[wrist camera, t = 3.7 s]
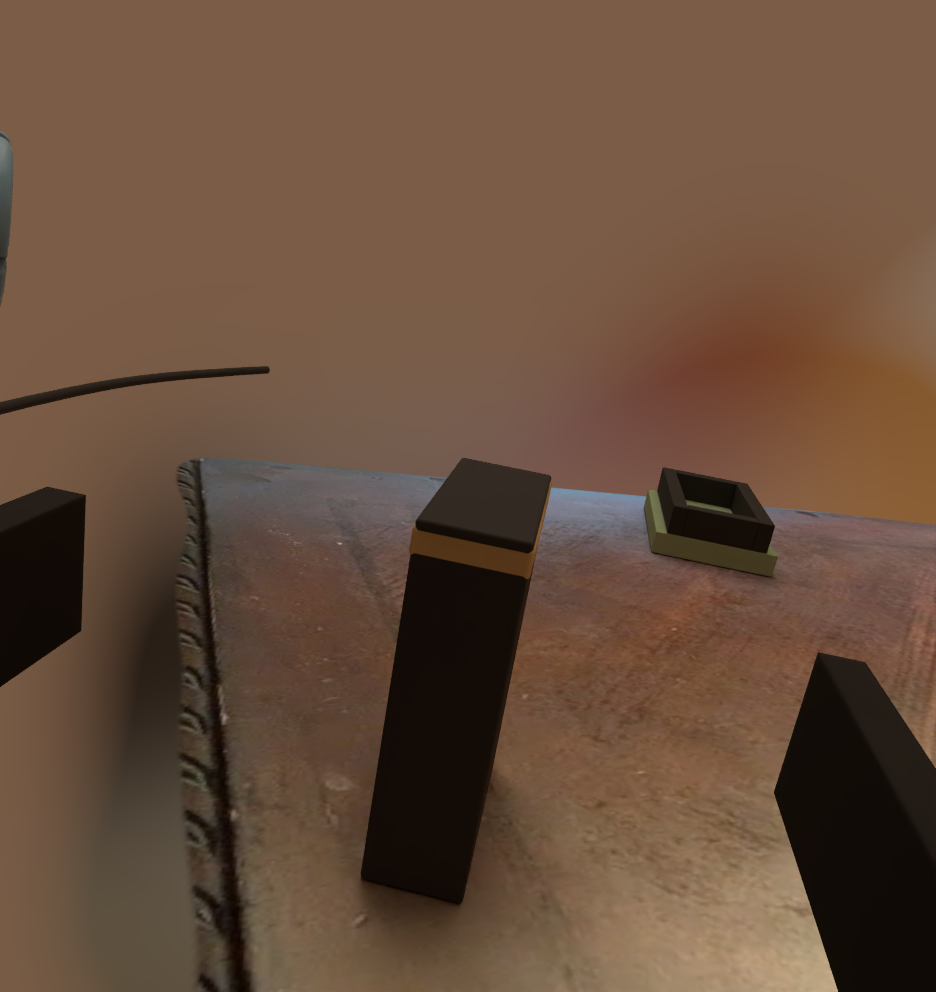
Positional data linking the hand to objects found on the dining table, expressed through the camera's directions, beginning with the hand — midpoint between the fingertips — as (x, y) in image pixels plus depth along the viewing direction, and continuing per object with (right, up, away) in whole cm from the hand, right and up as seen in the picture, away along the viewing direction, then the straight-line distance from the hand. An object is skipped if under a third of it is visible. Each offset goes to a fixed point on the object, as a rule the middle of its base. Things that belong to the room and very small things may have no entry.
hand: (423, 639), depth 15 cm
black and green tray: (+18, -1, +46) cm, 50 cm away
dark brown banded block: (0, -8, +12) cm, 15 cm away
